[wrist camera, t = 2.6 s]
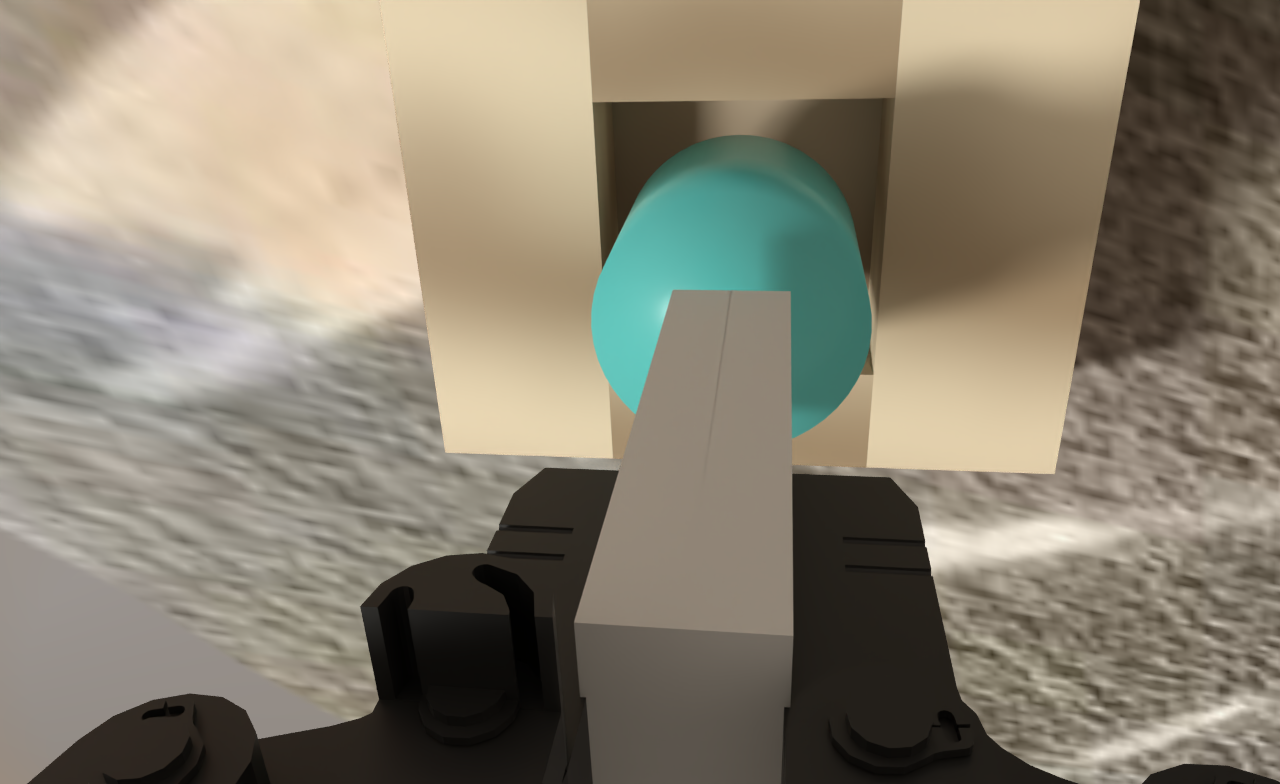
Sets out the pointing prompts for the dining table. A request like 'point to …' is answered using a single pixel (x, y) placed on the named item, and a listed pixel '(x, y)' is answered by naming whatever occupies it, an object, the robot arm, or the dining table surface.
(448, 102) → the wooden button tray
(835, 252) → the teal button
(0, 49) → the dining table surface
